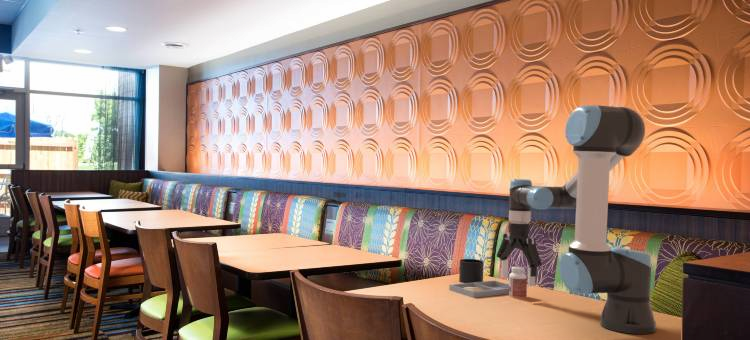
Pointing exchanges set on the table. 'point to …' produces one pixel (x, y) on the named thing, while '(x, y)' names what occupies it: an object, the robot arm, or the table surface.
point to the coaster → (473, 289)
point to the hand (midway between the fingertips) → (517, 281)
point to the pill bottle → (518, 283)
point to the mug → (470, 271)
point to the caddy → (488, 286)
